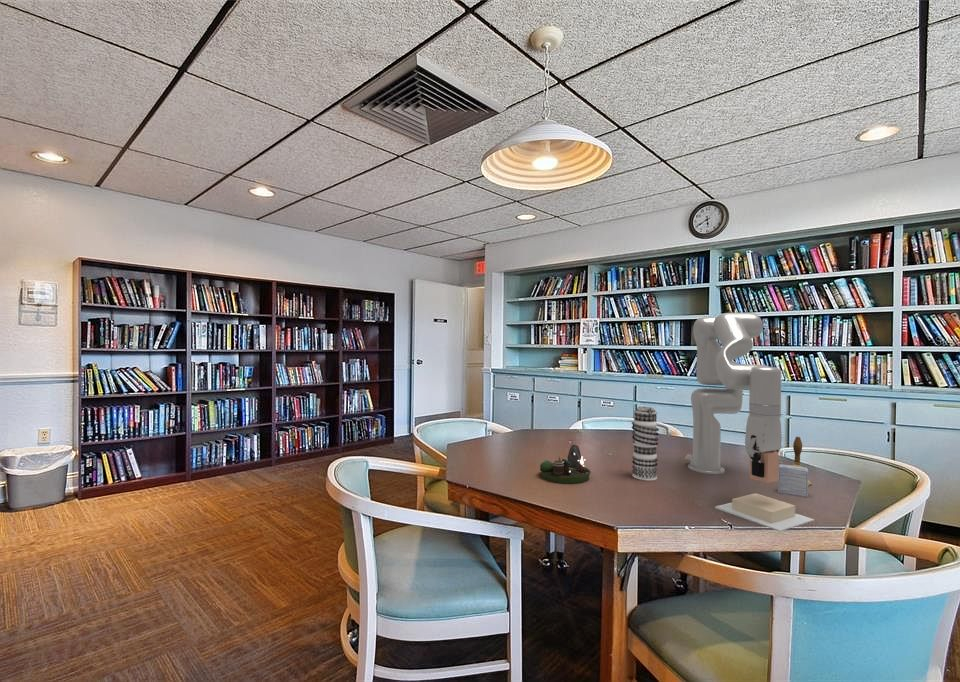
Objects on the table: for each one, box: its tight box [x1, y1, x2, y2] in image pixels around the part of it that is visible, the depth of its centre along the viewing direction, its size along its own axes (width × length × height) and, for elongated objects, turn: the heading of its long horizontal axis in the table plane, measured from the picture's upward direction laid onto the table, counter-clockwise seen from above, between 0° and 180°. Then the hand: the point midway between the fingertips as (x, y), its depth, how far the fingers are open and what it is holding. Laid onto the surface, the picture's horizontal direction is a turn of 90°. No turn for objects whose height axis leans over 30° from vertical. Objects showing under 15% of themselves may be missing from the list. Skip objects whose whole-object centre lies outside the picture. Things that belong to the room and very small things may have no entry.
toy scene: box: [539, 444, 592, 485], centre depth 161 cm, size 18×18×11 cm
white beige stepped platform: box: [714, 492, 815, 532], centre depth 126 cm, size 18×16×4 cm
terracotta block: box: [749, 448, 780, 484], centre depth 126 cm, size 5×5×8 cm
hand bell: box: [790, 436, 812, 487], centre depth 157 cm, size 8×8×16 cm
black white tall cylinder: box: [631, 406, 660, 481], centre depth 161 cm, size 9×9×25 cm
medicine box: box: [777, 463, 809, 498], centre depth 145 cm, size 8×4×9 cm, turn 56°
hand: (764, 474), depth 126 cm, fingers closed on terracotta block, 5 cm apart
